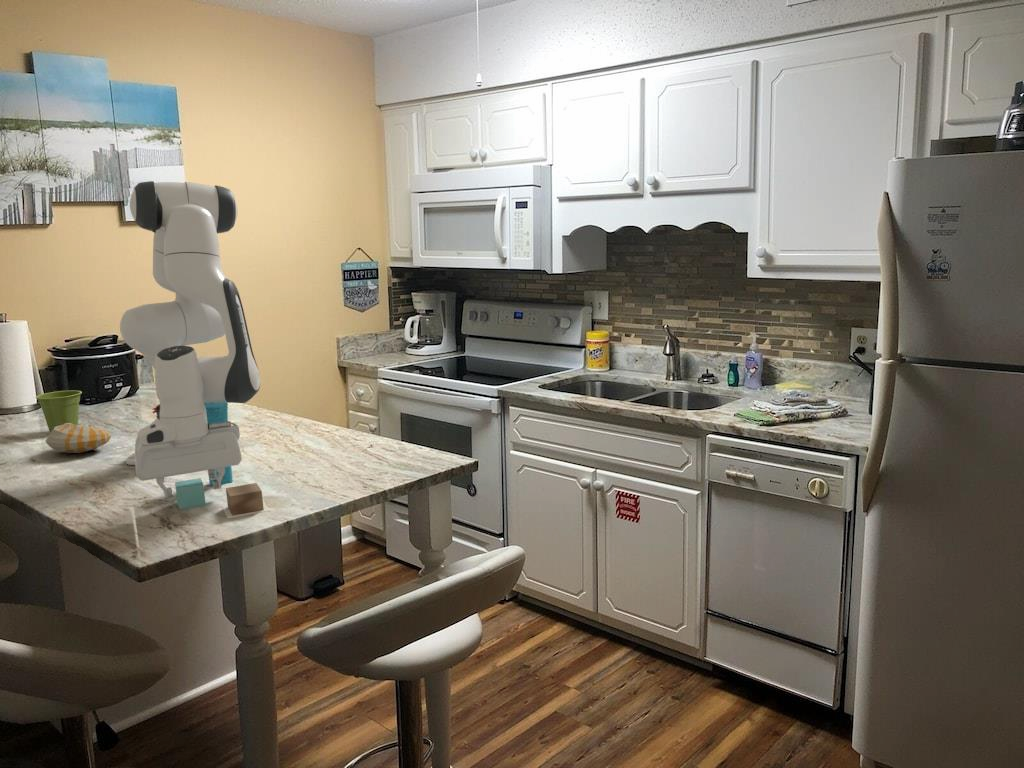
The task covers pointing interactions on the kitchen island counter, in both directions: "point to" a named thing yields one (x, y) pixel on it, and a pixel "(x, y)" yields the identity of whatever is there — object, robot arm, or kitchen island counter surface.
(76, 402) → the plant pot
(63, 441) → the nautilus
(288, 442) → the kitchen island counter surface
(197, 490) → the teal cube
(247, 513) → the slate mat
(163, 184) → the robot arm
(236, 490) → the walnut block
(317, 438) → the kitchen island counter surface
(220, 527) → the kitchen island counter surface
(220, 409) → the tube
